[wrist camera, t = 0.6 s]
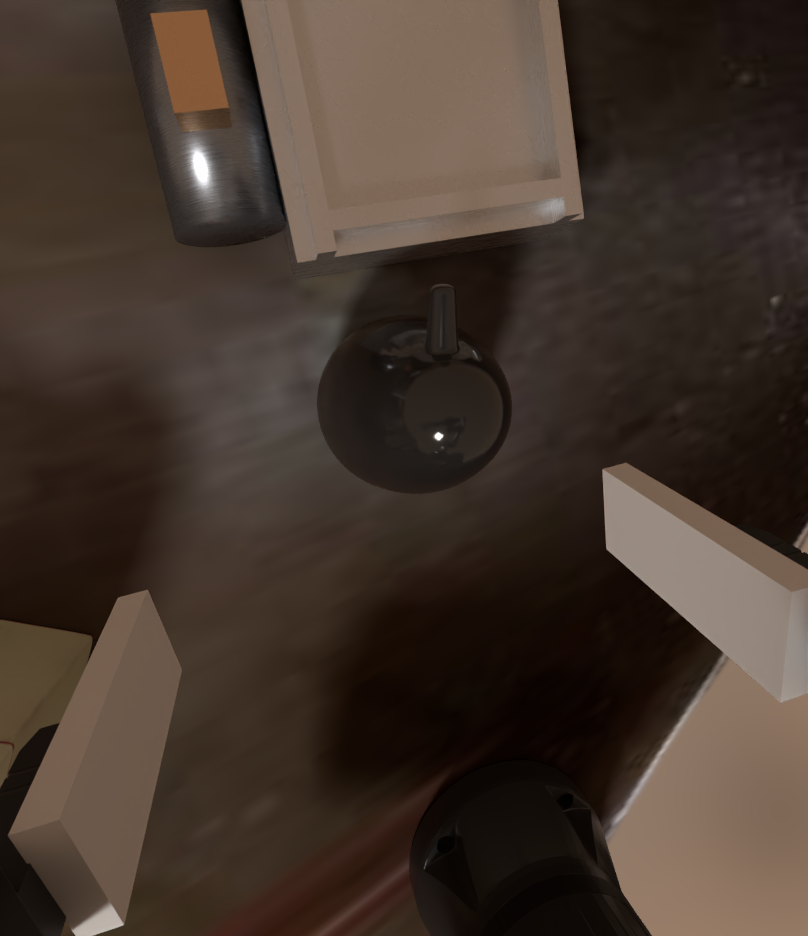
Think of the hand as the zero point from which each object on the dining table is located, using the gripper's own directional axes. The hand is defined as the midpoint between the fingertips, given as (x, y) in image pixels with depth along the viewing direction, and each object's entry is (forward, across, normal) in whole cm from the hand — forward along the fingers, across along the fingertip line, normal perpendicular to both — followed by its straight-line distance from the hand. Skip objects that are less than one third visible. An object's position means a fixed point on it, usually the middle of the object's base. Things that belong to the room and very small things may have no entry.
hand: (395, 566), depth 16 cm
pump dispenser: (+22, -4, +2) cm, 23 cm away
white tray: (+26, -5, -15) cm, 30 cm away
